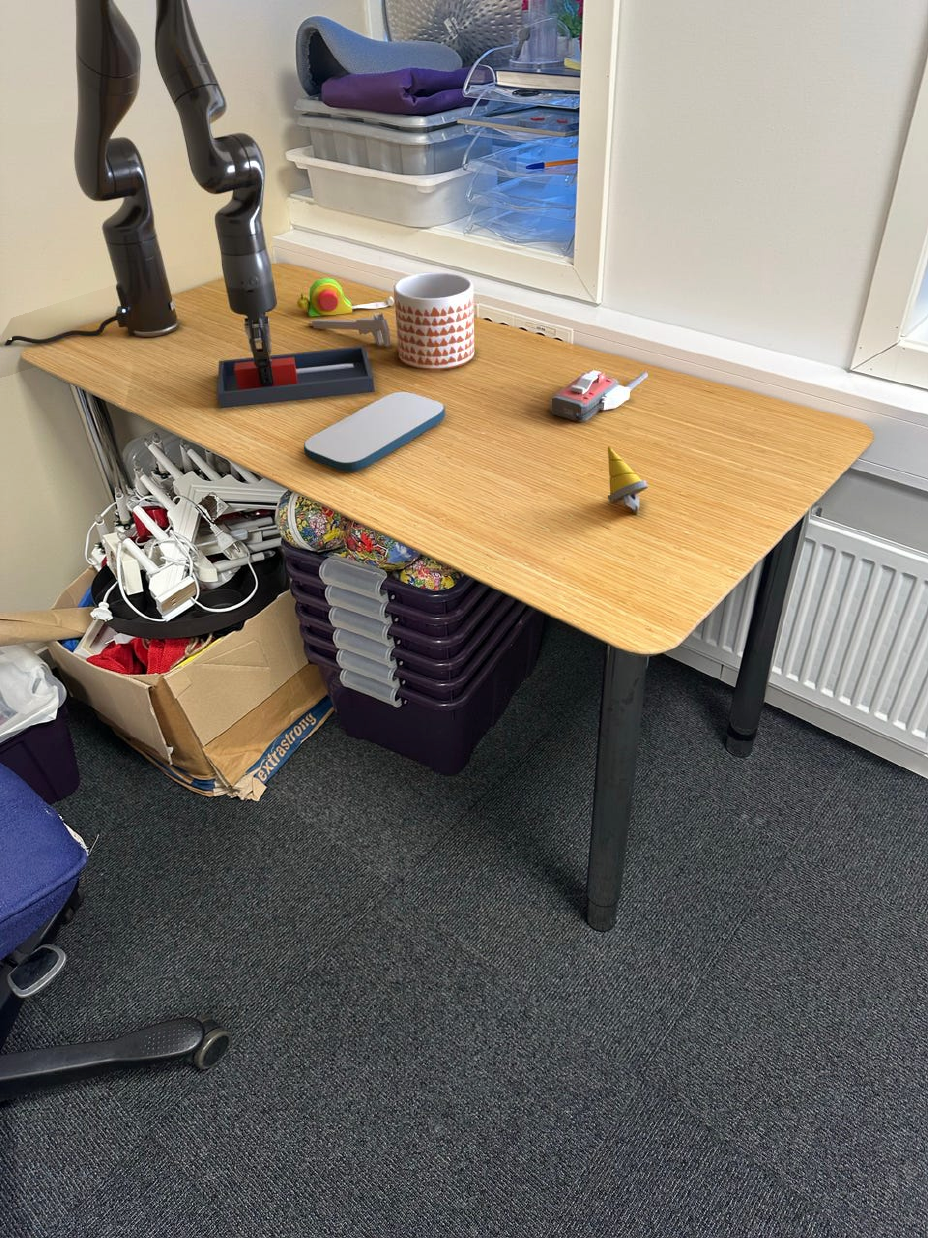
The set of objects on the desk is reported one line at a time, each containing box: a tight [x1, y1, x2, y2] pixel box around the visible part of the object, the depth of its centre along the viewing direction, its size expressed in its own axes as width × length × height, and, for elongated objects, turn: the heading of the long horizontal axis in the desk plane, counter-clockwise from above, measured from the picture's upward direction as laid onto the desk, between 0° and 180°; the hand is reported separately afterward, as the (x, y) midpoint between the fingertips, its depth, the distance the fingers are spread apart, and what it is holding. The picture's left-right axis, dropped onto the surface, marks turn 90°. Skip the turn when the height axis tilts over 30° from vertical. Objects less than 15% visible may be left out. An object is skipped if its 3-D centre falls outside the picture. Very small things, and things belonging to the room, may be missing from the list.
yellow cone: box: [607, 446, 649, 515], centre depth 116 cm, size 5×5×10 cm
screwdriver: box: [234, 357, 353, 390], centre depth 148 cm, size 20×3×4 cm, turn 101°
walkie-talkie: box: [550, 369, 649, 423], centre depth 141 cm, size 9×4×20 cm
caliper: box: [308, 312, 391, 348], centre depth 164 cm, size 20×1×6 cm, turn 53°
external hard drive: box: [303, 391, 446, 473], centre depth 134 cm, size 24×12×2 cm, turn 142°
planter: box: [393, 271, 475, 371], centre depth 153 cm, size 14×14×13 cm
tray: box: [216, 345, 376, 409], centre depth 149 cm, size 26×14×3 cm, turn 101°
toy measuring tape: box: [296, 277, 395, 318], centre depth 174 cm, size 6×20×7 cm, turn 104°
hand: (267, 380), depth 148 cm, fingers closed on screwdriver, 3 cm apart
